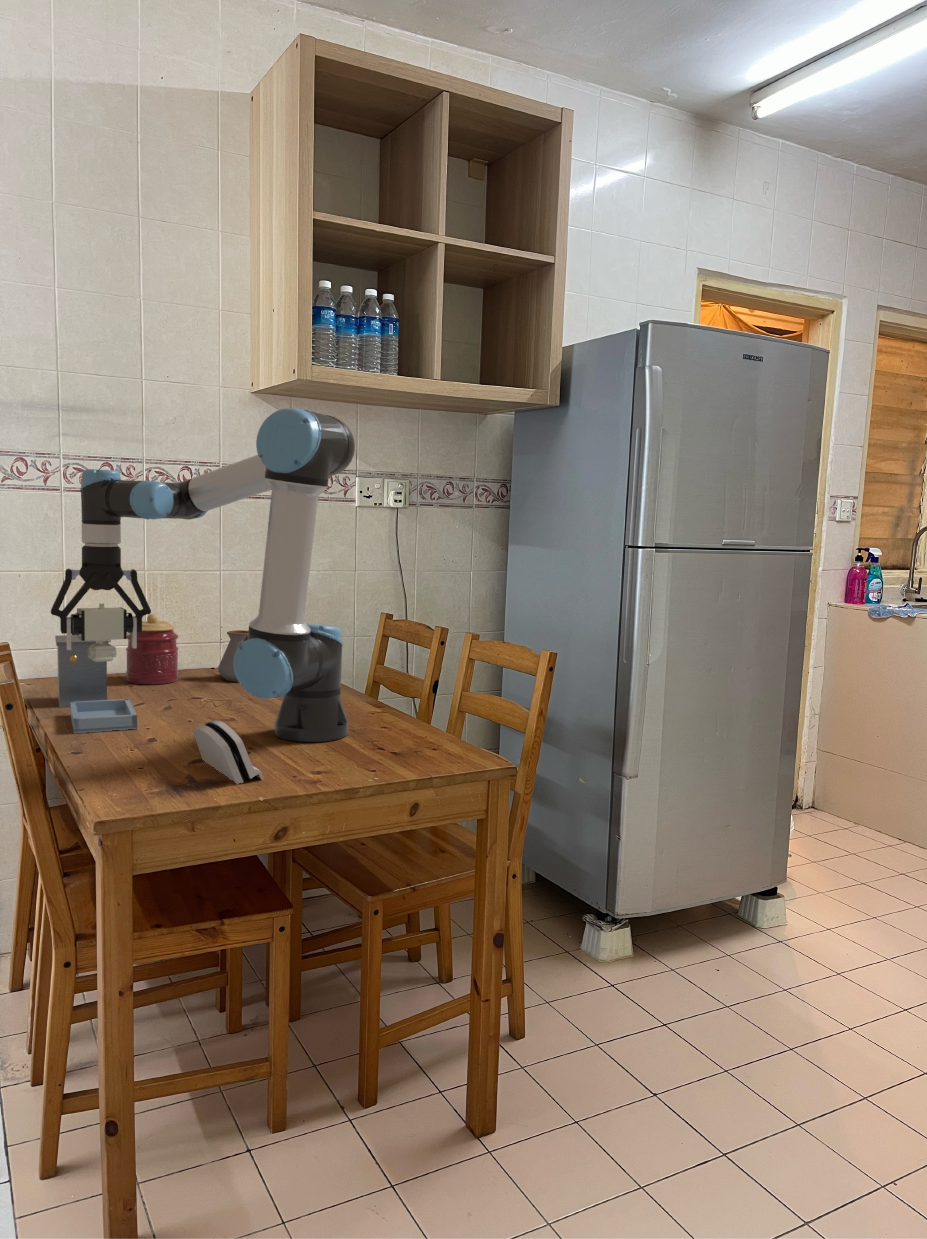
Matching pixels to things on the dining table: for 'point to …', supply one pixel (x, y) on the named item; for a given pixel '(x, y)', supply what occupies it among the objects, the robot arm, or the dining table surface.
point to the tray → (102, 715)
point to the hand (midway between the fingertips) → (102, 648)
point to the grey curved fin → (224, 751)
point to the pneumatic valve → (101, 629)
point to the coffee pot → (231, 654)
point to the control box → (79, 672)
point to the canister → (153, 654)
